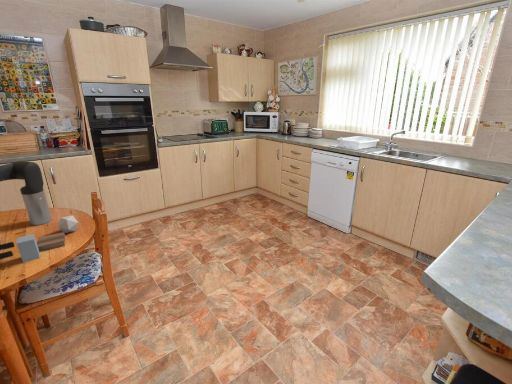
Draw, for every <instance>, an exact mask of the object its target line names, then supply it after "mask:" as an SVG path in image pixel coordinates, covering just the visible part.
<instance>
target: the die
mask: <svg viewBox="0 0 512 384" xmlns="http://www.w3.org/2000/svg"><path fill="white" fill-rule="evenodd" d="M78 224H79V221H78V220H77V219H76V218H75V216H74V215H68V216H62V217H60V218H59V222H58V225H57V228H58V229H59V230H60V231H61V233H62V232H64V234H65V235H66V234H68V233H69V234H70V233H73V232H74V233H75V232H76V231H77V228H78V226H79V225H78Z"/></svg>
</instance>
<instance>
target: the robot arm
mask: <svg viewBox="0 0 512 384" xmlns="http://www.w3.org/2000/svg"><path fill="white" fill-rule="evenodd" d="M13 180H22V181H23V180H24V183H25V184H24V186H21V187H20V189H19V191H20V194H21V198H22V201H23V203H24V206H25V210H26V213H27V216H28V219H29V223H30V225H31V226H41V225H45V224H48V223H49V222H51V221H52V215H51V210H50V208H49V204H48V201H47V198H46V193H45V191H44V179H43V174H42V170H41V168H40V165H39V164H38V163H36V162H34V161H22V160H21V161H15V162H12V163H6V164H2V165H0V183H1V182H4V181H13ZM14 247H15V243H14V242H13V241H11V242H6V243H3V244H1V243H0V251H3V250H7V249H11V248H14ZM13 256H14V253H13V251H12V250H8V251H4V252H1V253H0V260H3V259H7V258H11V257H13Z"/></svg>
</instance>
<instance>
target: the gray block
mask: <svg viewBox="0 0 512 384" xmlns="http://www.w3.org/2000/svg"><path fill="white" fill-rule="evenodd" d="M16 246H17V249H18V252H19V255H20V257H21V260H22V263H26V262H30V261H33V260H36V259H41V258H40V257H41V256H40V255H41V254H40V253H41V252H39V249H38V246H37V240H36V236H35V234H34V233H33V234H29V235H24V236H20V237H17V238H16Z"/></svg>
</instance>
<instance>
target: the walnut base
mask: <svg viewBox="0 0 512 384" xmlns="http://www.w3.org/2000/svg"><path fill="white" fill-rule="evenodd" d="M36 243H37V246H38V249H39V252H40V253H41V252H46V251H49V250H53V249H57V248H61V247H65V246H66V233H65V234H64V232H62V231H61V232H57V233H53V234H49V235H43V236H40V237H37V240H36Z"/></svg>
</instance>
